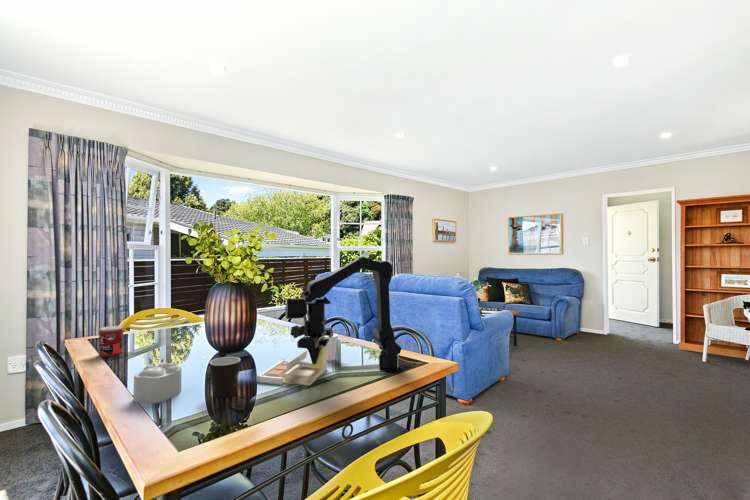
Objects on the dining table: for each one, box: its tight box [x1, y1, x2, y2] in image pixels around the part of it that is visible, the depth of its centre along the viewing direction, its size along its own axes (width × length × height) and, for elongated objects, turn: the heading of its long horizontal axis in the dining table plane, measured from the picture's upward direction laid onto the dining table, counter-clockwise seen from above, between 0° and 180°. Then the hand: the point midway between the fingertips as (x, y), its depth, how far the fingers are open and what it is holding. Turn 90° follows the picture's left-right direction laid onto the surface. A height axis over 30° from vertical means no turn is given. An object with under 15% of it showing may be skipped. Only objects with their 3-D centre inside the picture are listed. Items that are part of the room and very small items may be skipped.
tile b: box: [275, 365, 289, 374], centre depth 128 cm, size 4×4×2 cm
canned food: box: [98, 325, 124, 358], centre depth 150 cm, size 8×8×11 cm
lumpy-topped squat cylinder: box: [133, 361, 182, 404], centre depth 109 cm, size 10×13×9 cm
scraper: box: [286, 346, 327, 370], centre depth 126 cm, size 10×15×7 cm
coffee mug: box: [209, 356, 241, 399], centre depth 111 cm, size 12×9×10 cm
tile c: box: [267, 370, 284, 377], centre depth 122 cm, size 4×4×2 cm
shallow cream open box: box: [283, 359, 328, 386], centre depth 126 cm, size 9×16×3 cm, turn 168°
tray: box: [256, 359, 291, 386], centre depth 128 cm, size 9×19×2 cm, turn 168°
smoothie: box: [324, 323, 339, 362], centre depth 145 cm, size 6×6×14 cm
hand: (316, 362), depth 125 cm, fingers closed on scraper, 3 cm apart
